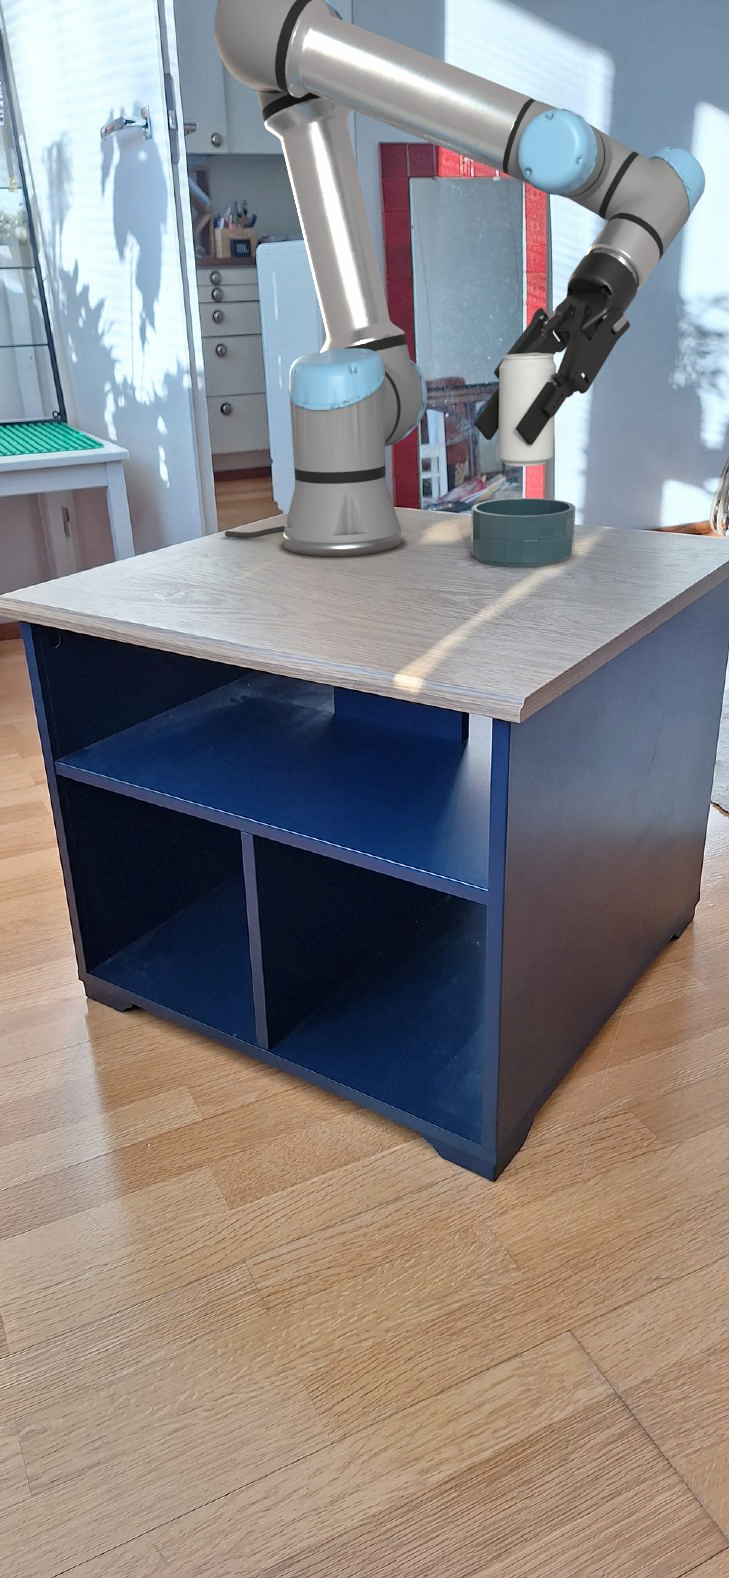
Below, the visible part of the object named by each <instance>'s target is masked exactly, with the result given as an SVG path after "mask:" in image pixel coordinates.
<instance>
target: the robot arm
mask: <svg viewBox="0 0 729 1578" xmlns="http://www.w3.org/2000/svg"><path fill="white" fill-rule="evenodd" d="M213 34H214V40H215V45H216V46H215V47H216V48H217V52H218V55H219V57H220V59H221V61H222V63H223V65H224V67H225V68H226V69H227V70H228V72H229V73H230V75H232V76H233V77H234V78H235V79H236V80H237V81H238V82H240V83H241V84H243V85H245V86H246V87H248V88H251V89H253V90H255V91H256V94H257V97H258V103H259V107H260V111H261V114H262V119H263V123H264V126H265V129H266V130H268V131H269V132H270V133H272V134H273V135H275V136H276V137H277V138H278V139H279V140H280V142H281V146H282V147H281V148H282V151H283V155H284V159H285V164H286V167H287V172H288V177H289V181H290V184H291V189H292V193H293V197H294V201H295V205H296V209H297V214H298V218H299V222H300V223H299V224H300V227H301V231H302V235H303V239H304V240H303V241H304V244H305V249H306V252H307V256H308V260H309V265H310V270H311V272H312V278H313V282H314V286H315V290H316V295H317V299H318V303H319V306H320V311H321V316H322V320H323V324H324V329H325V333H326V340H325V343H324V344H323V347H322V348H321V349H320V351H319V352H316V351H315V352H311V353H307V354H304V355H302V356H300V357H298V358H296V359H295V360H294V361H293V363H292V364H291V366H290V369H289V385H288V389H287V393H288V397H289V407H290V408H289V409H290V421H291V423H290V424H291V438H292V439H291V440H292V455H293V469H294V470H293V471H294V472H293V473H294V490H293V493H292V496H291V501H290V505H289V509H288V514H287V518H286V524H285V525H281V526H276V527H270V528H265V529H261V530H256V531H249V532H246V531H245V532H243V531H233V530H225V531H224V536H225V537H227V538H237V539H253V538H259V537H263V536H268V535H272V534H279V533H283V544H284V545H283V546H284V548H285V549H286V550H288V551H290V552H293V553H297V554H301V555H308V556H318V557H319V556H320V557H321V556H322V557H344V556H345V557H346V556H347V557H348V556H349V557H350V556H360V555H361V556H362V555H369V554H376V553H381V552H385V551H388V550H391V549H394V548H397V547H398V546H400V544H402V528H401V523H400V521H399V520H398V516H397V513H396V509H395V506H394V503H393V502H394V501H393V500H392V497H391V494H390V491H389V488H388V485H387V476H386V474H387V473H386V469H387V468H386V447H388V446H393V445H396V444H398V443H400V442H401V441H402V440H404V439H406V437H408V436H409V435H410V434H411V433H412V432H413V431H414V430H415V429H416V428H417V426H418V425H419V424H420V422H421V421H422V419H423V417H424V414H425V411H426V408H427V402H428V388H427V383H426V379H425V376H424V375H423V373H422V371H421V369H420V368H419V367H418V365H417V364H416V363H415V362H414V361H413V360H412V359H411V357H410V352H409V347H408V342H407V338H406V334H405V331H404V330H403V329H401V328H400V327H399V326H397V325H396V324H394V323H393V322H392V321H391V318H390V313H389V309H388V305H387V300H386V296H385V292H384V291H385V290H384V286H383V282H382V277H381V273H380V268H379V263H378V258H377V254H376V249H375V245H374V240H373V235H372V231H371V225H370V222H369V217H368V212H367V208H366V204H365V199H364V193H363V189H362V184H361V180H360V176H359V171H358V166H357V162H356V158H355V153H354V147H353V143H352V139H351V134H350V129H349V125H348V119H349V117H350V114H351V113H352V111H354V112H356V113H358V114H361V115H362V116H363V115H364V116H366V117H368V118H371V119H373V120H375V121H378V122H380V123H383V124H385V125H387V126H390V127H392V128H395V129H398V130H400V131H402V132H405V133H407V134H409V135H411V136H414V137H416V138H419V139H421V140H424V141H426V142H428V143H431V144H433V145H435V146H438V147H441V148H443V149H445V150H448V151H450V152H453V153H455V154H456V155H459V156H462V157H464V158H467V159H469V160H472V161H474V162H476V163H479V164H481V165H484V166H486V167H489V168H491V169H493V170H495V171H498V172H501V173H503V174H506V175H507V176H509V177H511V178H514V179H516V180H518V181H520V182H523V183H526V184H527V185H530V186H532V188H534V189H536V190H538V191H540V192H543V193H545V194H548V195H551V196H559V197H563V198H566V199H569V200H570V201H572V202H574V203H576V204H577V205H579V206H581V207H583V208H584V209H586V210H588V211H589V212H591V213H593V214H595V215H597V216H598V217H600V218H601V219H603V220H604V221H605V220H606V221H607V222H606V223H605V225H604V226H603V227H602V229H601V231H599V233H598V234H597V236H596V237H595V239H594V241H593V242H592V243H591V245H589V247H588V249H587V250H586V254H585V255H584V256H583V257H582V259H581V260H580V262H579V263H578V265H577V266H576V268H575V269H574V270H573V272H572V274H570V276H569V278H568V280H567V287H566V288H567V289H566V297H565V298H564V299H563V300H562V301H561V302H560V303H559V304H558V305H557V306H556V307H555V309H554V310H552V311H548V312H546V311H545V309H544V308H543V307H539V308H538V309H536V310H535V311H534V313H533V316H532V317H531V320H530V322H529V324H528V325H527V326H526V328H525V329H524V331H523V332H522V333H521V335H520V336H519V337H518V338H517V340H516V341H515V343H514V344H513V345H512V346H511V347H510V349H509V351H508V352H507V353H506V355H510V354H528V353H547V354H553V356H554V355H555V354H556V353H562V352H564V353H563V356H562V359H561V360H560V364H559V366H558V370H557V371H556V374H553V375H554V376H553V375H551V377H552V379H553V380H554V381H555V383H556V385H555V386H554V384H553V383H552V382H546V384H545V385H544V387H543V388H542V390H541V391H540V393H539V394H538V396H537V397H536V399H535V400H534V402H533V403H532V405H531V406H530V408H529V409H528V411H527V412H526V414H525V415H524V416H523V418H522V419H521V421H520V422H519V424H518V425H517V427H516V428H515V429H516V430H517V431H518V433H519V434H520V435H521V437H522V438H523V439H524V440H525V442H526V443H527V444H528V445H533V443H534V442H535V440H536V439H537V437H538V436H539V434H540V433H541V431H542V430H543V428H544V427H545V425H546V424H547V422H548V421H549V420H550V418H552V417H553V416H554V417H555V415H556V414H557V413H558V411H559V410H560V408H561V407H562V406H563V404H564V402H565V401H566V399H567V398H570V397H572V396H574V393H577V392H578V393H580V394H581V395H582V394H586V393H587V392H588V391H589V389H590V388H591V386H592V384H593V383H594V381H595V379H596V377H597V376H598V374H599V373H600V371H601V369H602V367H603V366H604V364H605V362H606V361H607V359H608V357H609V356H610V355H611V352H612V351H613V349H614V347H615V346H616V344H617V342H618V340H619V339H620V338H621V337H622V336H623V335H624V334H625V333H626V332H627V331H628V330H629V328H630V327H631V323H630V321H629V320H628V318H627V316H626V315H625V313H626V311H627V309H629V307H630V305H631V304H632V302H633V301H634V299H635V298H636V296H637V294H638V291H639V290H641V288H642V287H643V285H644V284H645V282H646V281H647V279H648V278H649V276H650V275H651V273H652V272H653V270H654V268H656V267H657V266H656V265H657V264H659V262H660V260H661V258H662V257H663V256H664V254H665V253H666V251H667V250H668V249H669V247H670V246H671V245H672V243H673V241H674V240H675V238H676V237H677V236H678V235H679V233H680V232H681V230H682V228H683V227H684V226H685V225H686V223H687V222H688V220H689V218H690V216H691V214H692V213H693V211H694V210H695V208H696V206H697V205H698V203H699V201H700V199H701V197H702V196H703V194H704V192H705V188H706V176H705V171H704V168H703V166H702V165H701V164H700V162H699V161H698V159H697V158H696V157H695V156H694V154H692V153H690V152H689V151H687V150H686V149H683V148H681V147H677V148H674V147H673V146H664V147H660V148H659V149H657V150H656V151H655V152H654V153H653V154H651V155H650V157H646V156H645V155H644V154H642V153H641V154H640V153H638V152H637V151H634V150H632V149H631V148H629V147H627V146H626V145H624V144H623V143H621V142H619V141H617V140H616V139H615V138H614V137H611V136H610V135H608V134H606V133H605V132H603V131H601V130H600V129H599V128H597V127H596V126H594V125H592V124H590V123H589V122H588V121H587V120H586V119H585V118H584V117H583V116H582V115H580V114H578V113H576V112H574V111H572V110H569V109H566V108H558V107H556V106H553V105H551V104H549V103H546V102H543V101H540V100H537V99H534V98H533V97H531V96H529V95H527V94H524V93H522V92H519V91H516V90H514V89H512V88H509V87H507V86H504V85H502V84H499V83H498V82H495V81H492V80H490V79H487V78H485V77H483V76H479V75H478V74H475V73H472V72H470V71H467V70H465V69H463V68H460V67H458V66H456V65H453V64H450V63H448V62H446V61H443V60H441V59H438V58H436V57H434V56H431V55H428V54H426V53H424V52H421V51H419V50H417V49H414V48H411V47H410V46H408V45H404V44H402V43H399V42H397V41H394V40H391V39H389V38H387V37H384V36H382V35H379V34H377V33H375V32H372V31H369V30H367V29H365V28H362V27H359V26H358V25H355V24H353V23H351V22H348V21H346V18H345V17H344V16H343V14H342V13H341V11H339V10H338V9H337V8H336V7H335V5H334V4H333V3H332V2H331V1H330V0H219V1H218V3H217V6H216V9H215V14H214V20H213ZM503 361H504V358H502V360H501V361H500V362H499V364H498V365H497V366H496V368H495V369H494V370H493V375H494V376H495V378H496V379H497V380H498V381H499V367H500V366H501V364H502V362H503ZM583 375H584V376H583ZM474 426H475V427H476V428H477V430H478V431H479V433H481V435H482V436H483V437H484V438H485V439H486V441H487V440H488V441H491V440H492V439H493V438H494V436H495V434H496V433H498V430H499V385H498V386H497V388H495V390H494V392H493V394H492V395H491V396H490V398H489V399H488V401H487V404H486V406H485V408H484V409H483V410H482V412H481V413H480V415H479V416H478V418H477V419H476V420H475V422H474Z"/></svg>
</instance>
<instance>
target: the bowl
mask: <svg viewBox="0 0 729 1578" xmlns="http://www.w3.org/2000/svg"><path fill="white" fill-rule="evenodd" d="M470 513H471V515H470V517H471V518H470V519H471V521H470V522H471V524H470V529H471V530H470V553H471V555H472V556H474V557H475V559H476V560H477V561H479V562H480V563H484V564H487V565H491V566H497V567H508V568H536V567H546V566H552V565H557V564H561V563H563V562H566V561H567V560H568V559H569V557H571V556H572V555H573V553H574V551H575V549H574V548H575V530H576V529H575V527H576V506H575V505H574V504H573V503H571V502H568V501H564V500H558V499H551V498H541V497H536V498H535V497H515V498H513V497H512V498H499V499H492V500H485V501H481V502H479V503H478V502H477V503H475V504H474V505H472V506H471V512H470Z"/></svg>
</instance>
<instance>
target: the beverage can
mask: <svg viewBox="0 0 729 1578" xmlns="http://www.w3.org/2000/svg"><path fill="white" fill-rule="evenodd" d="M553 357H554V355H553V354H547V353H528V354H510V355H507V354H503V355H502V359H504V361H503V362H502V364H501V366H500V367H499V380H498V386H499V429H498V430H497V433H498V437H497V439H498V441H497V443H498V444H497V457H498V459H499V460H500V461H502V462H503V465H504V466H505V465H506V466H509V467H536V466H543V465H546V464H547V463H548V461H550V460H552V458H553V457H554V441H555V415H554V416H553V417H552V418H550V420H549V421H548V422H547V424H546V425H545V427H544V428H543V430H542V431H541V433H540V434H539V436H538V437H537V439H536V440H535V442H534V443H533V445H528V444H527V443H526V442H525V440H524V439H523V438H522V437H521V435H520V434H519V433H518V431H517V430H516V429H515V428H516V427H517V425H518V424H519V422H520V421H521V419H522V418H523V416H524V415H525V414H526V412H527V411H528V409H529V408H530V406H531V405H532V403H533V402H534V400H535V399H536V397H537V396H538V394H539V393H540V391H541V390H542V388H543V387H544V385H545V384H546V382H552V383H553V384H554V386H555V385H556V383H555V381H554V380H553V379H552V377H551V375H553V374H556V373H557V364H556V363H555V361H554V360H553V359H554V358H553ZM553 376H554V375H553Z"/></svg>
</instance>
